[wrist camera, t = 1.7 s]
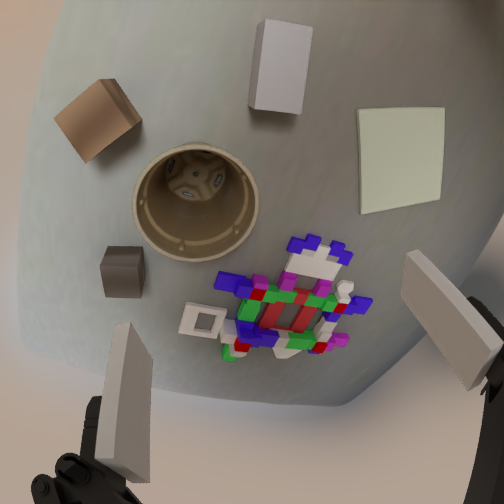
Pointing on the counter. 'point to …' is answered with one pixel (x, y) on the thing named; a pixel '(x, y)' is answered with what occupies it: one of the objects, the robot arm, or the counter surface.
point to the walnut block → (97, 118)
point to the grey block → (280, 66)
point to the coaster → (399, 156)
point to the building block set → (258, 289)
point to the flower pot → (195, 203)
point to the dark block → (123, 272)
